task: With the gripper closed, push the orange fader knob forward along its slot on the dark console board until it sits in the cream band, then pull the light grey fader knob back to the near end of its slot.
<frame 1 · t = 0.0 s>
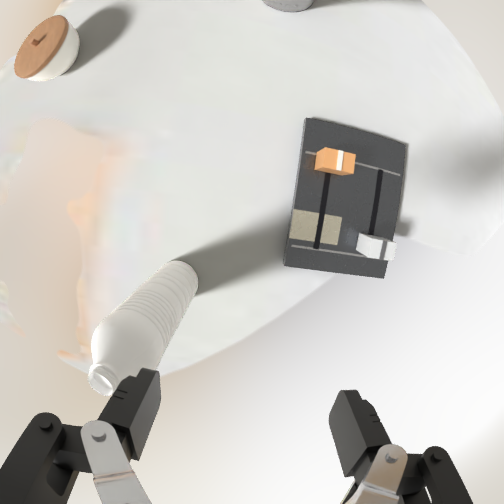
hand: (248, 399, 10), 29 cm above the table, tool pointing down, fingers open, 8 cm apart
lidded bowl: (64, 60, 31), on the table
console: (347, 200, 37), on the table
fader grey: (376, 246, 35), point 4 cm above the table, slide at 10.0 cm
fader orange: (334, 162, 32), point 4 cm above the table, slide at 0.0 cm
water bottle: (178, 287, 40), on the table
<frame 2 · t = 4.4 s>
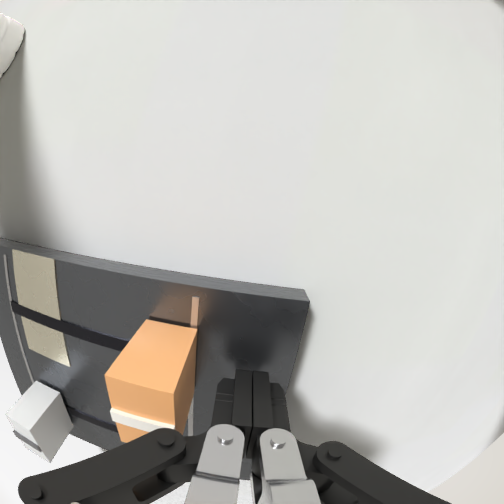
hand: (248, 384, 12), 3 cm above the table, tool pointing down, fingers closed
console: (114, 376, 15), on the table
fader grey: (40, 422, 11), point 4 cm above the table, slide at 10.0 cm
fader orange: (157, 387, 10), point 4 cm above the table, slide at 0.0 cm, touching gripper
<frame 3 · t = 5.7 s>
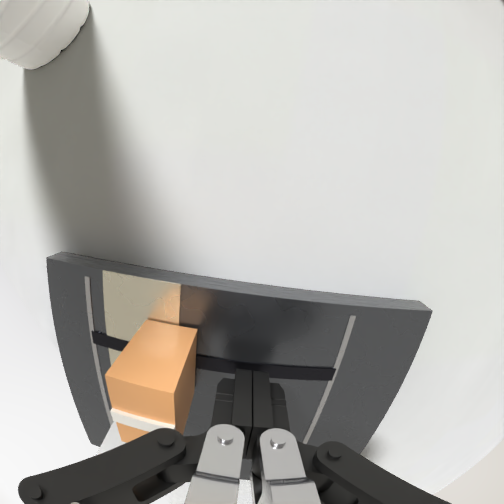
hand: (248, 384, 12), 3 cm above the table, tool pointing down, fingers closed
console: (223, 400, 15), on the table
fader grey: (128, 461, 12), point 4 cm above the table, slide at 10.0 cm
fader orange: (157, 387, 10), point 4 cm above the table, slide at 7.3 cm, touching gripper
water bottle: (45, 37, 10), on the table
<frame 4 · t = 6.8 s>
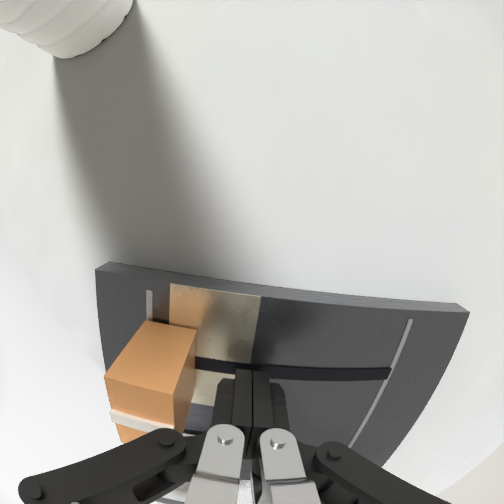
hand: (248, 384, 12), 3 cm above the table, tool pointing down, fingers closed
console: (280, 406, 15), on the table
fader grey: (182, 476, 12), point 4 cm above the table, slide at 10.0 cm
fader orange: (157, 388, 10), point 4 cm above the table, slide at 10.9 cm, touching gripper
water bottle: (78, 25, 10), on the table
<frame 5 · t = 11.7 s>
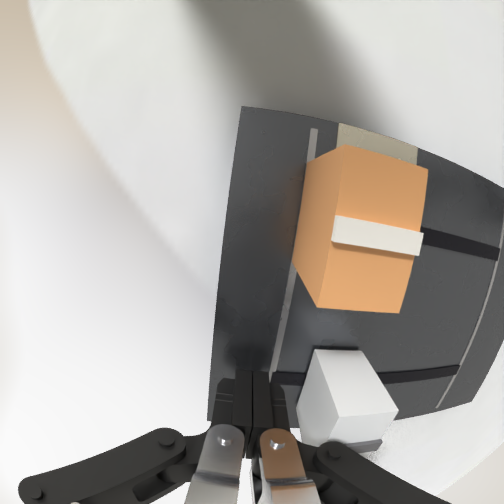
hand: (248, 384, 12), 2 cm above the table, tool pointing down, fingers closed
console: (409, 304, 13), on the table
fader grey: (339, 412, 10), point 4 cm above the table, slide at 9.0 cm, touching gripper
fader orange: (350, 224, 8), point 4 cm above the table, slide at 10.9 cm
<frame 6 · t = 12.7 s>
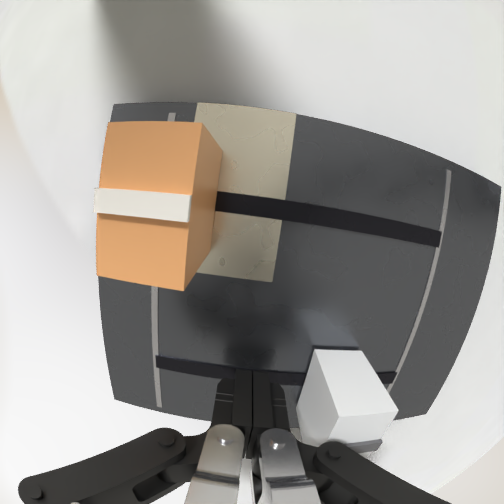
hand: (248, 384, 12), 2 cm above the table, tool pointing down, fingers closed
console: (316, 296, 13), on the table
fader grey: (339, 412, 10), point 4 cm above the table, slide at 3.3 cm, touching gripper
fader orange: (167, 199, 8), point 4 cm above the table, slide at 10.9 cm
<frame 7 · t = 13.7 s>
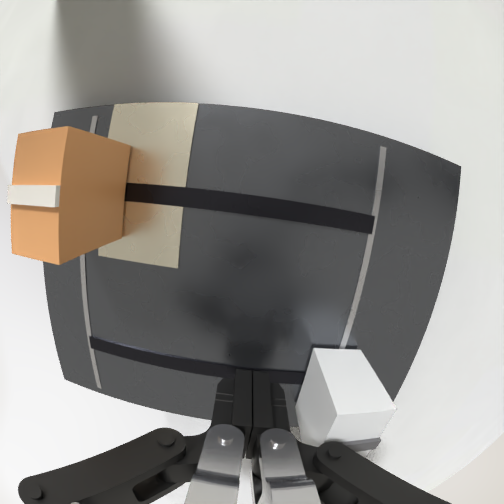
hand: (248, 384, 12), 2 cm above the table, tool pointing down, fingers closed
console: (235, 286, 13), on the table
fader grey: (338, 411, 10), point 4 cm above the table, slide at -0.7 cm, touching gripper
fader orange: (70, 191, 8), point 4 cm above the table, slide at 10.9 cm
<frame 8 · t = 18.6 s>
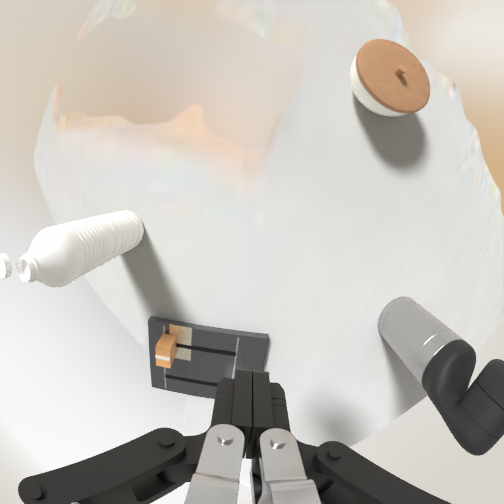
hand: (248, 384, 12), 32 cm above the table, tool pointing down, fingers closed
lidded bowl: (372, 91, 37), on the table
console: (205, 362, 48), on the table
fader orange: (166, 350, 43), point 4 cm above the table, slide at 10.9 cm
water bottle: (122, 229, 42), on the table
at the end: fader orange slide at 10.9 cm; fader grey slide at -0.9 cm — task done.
